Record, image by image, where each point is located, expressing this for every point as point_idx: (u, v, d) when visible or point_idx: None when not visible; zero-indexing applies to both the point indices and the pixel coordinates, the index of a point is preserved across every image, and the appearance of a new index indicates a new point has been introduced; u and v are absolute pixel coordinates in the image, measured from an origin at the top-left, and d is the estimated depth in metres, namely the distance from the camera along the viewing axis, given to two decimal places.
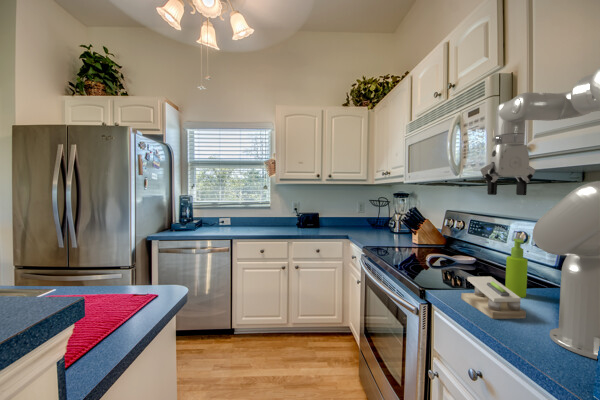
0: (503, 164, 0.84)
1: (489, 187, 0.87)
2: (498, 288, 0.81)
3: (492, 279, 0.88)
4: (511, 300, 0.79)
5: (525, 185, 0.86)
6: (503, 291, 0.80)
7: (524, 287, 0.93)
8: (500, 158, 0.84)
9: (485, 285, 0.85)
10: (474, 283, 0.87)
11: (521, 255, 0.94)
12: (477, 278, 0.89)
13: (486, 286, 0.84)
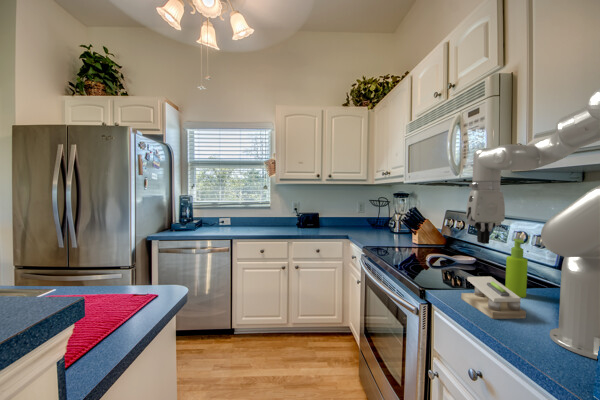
0: (479, 211, 0.85)
1: (479, 235, 0.88)
2: (498, 288, 0.81)
3: (492, 279, 0.88)
4: (511, 300, 0.79)
5: (488, 234, 0.87)
6: (503, 291, 0.80)
7: (524, 287, 0.93)
8: (477, 204, 0.85)
9: (485, 285, 0.85)
10: (474, 283, 0.87)
11: (521, 255, 0.94)
12: (477, 278, 0.89)
13: (486, 286, 0.84)
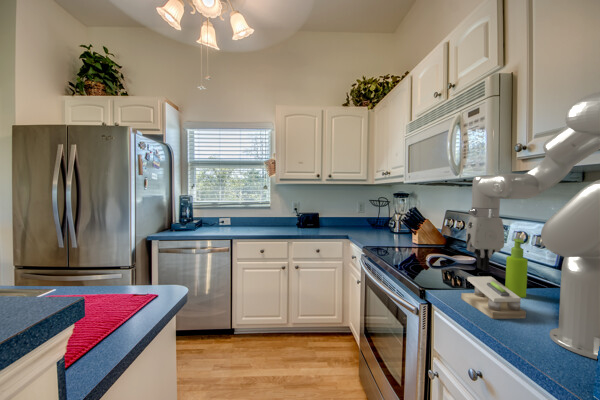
0: (479, 238, 0.85)
1: (478, 262, 0.88)
2: (498, 288, 0.81)
3: (492, 279, 0.88)
4: (511, 300, 0.79)
5: (487, 261, 0.87)
6: (503, 291, 0.80)
7: (524, 287, 0.93)
8: (476, 232, 0.85)
9: (485, 285, 0.85)
10: (474, 283, 0.87)
11: (521, 255, 0.94)
12: (477, 278, 0.89)
13: (486, 286, 0.84)
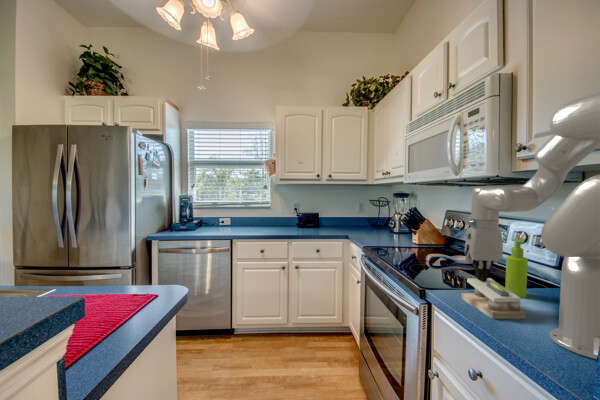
0: (477, 249, 0.86)
1: (477, 272, 0.89)
2: (498, 288, 0.81)
3: (492, 280, 0.89)
4: (511, 300, 0.79)
5: (486, 272, 0.87)
6: (503, 291, 0.80)
7: (524, 287, 0.93)
8: (475, 243, 0.86)
9: (485, 286, 0.85)
10: (474, 284, 0.87)
11: (521, 255, 0.94)
12: (477, 280, 0.89)
13: (486, 287, 0.84)
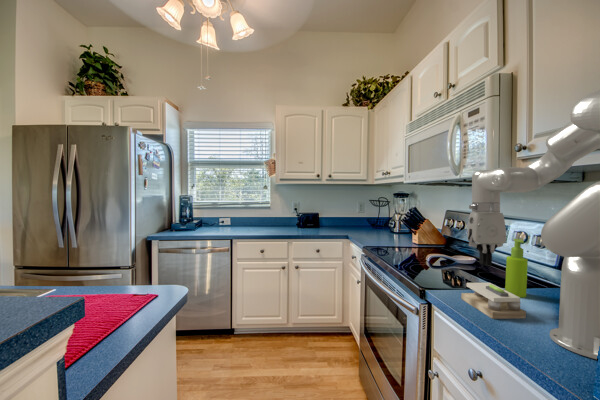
0: (480, 233, 0.85)
1: (481, 257, 0.87)
2: (497, 289, 0.82)
3: None
4: (511, 300, 0.79)
5: (490, 256, 0.86)
6: (502, 291, 0.80)
7: (524, 287, 0.93)
8: (477, 226, 0.85)
9: (484, 288, 0.85)
10: (473, 287, 0.87)
11: (521, 255, 0.94)
12: (476, 283, 0.89)
13: (485, 289, 0.85)
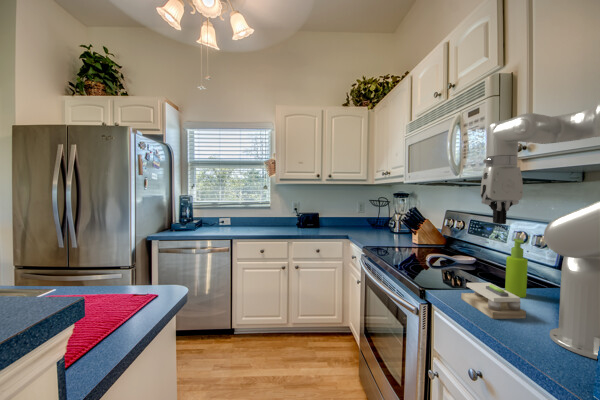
0: (495, 188, 0.79)
1: (495, 216, 0.82)
2: (497, 289, 0.82)
3: None
4: (511, 300, 0.79)
5: (504, 214, 0.80)
6: (502, 291, 0.80)
7: (524, 287, 0.93)
8: (492, 181, 0.79)
9: (484, 288, 0.85)
10: (473, 287, 0.87)
11: (521, 255, 0.94)
12: (476, 283, 0.89)
13: (485, 289, 0.85)
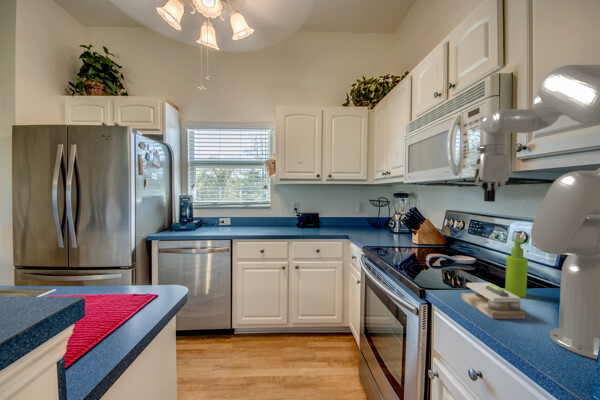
0: (486, 171, 0.95)
1: (485, 195, 0.98)
2: (497, 289, 0.82)
3: None
4: (511, 300, 0.79)
5: (494, 193, 0.97)
6: (502, 291, 0.80)
7: (524, 287, 0.93)
8: (484, 166, 0.95)
9: (484, 288, 0.85)
10: (473, 287, 0.87)
11: (521, 255, 0.94)
12: (476, 283, 0.89)
13: (485, 289, 0.85)
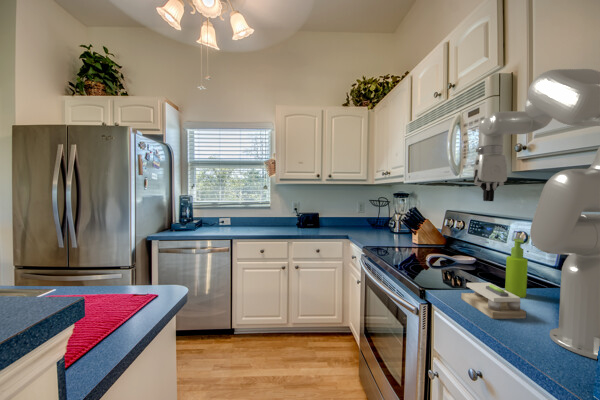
0: (485, 171, 0.98)
1: (484, 194, 1.01)
2: (497, 289, 0.82)
3: None
4: (511, 300, 0.79)
5: (492, 192, 0.99)
6: (502, 291, 0.80)
7: (524, 287, 0.93)
8: (482, 166, 0.98)
9: (484, 288, 0.85)
10: (473, 287, 0.87)
11: (521, 255, 0.94)
12: (476, 283, 0.89)
13: (485, 289, 0.85)
